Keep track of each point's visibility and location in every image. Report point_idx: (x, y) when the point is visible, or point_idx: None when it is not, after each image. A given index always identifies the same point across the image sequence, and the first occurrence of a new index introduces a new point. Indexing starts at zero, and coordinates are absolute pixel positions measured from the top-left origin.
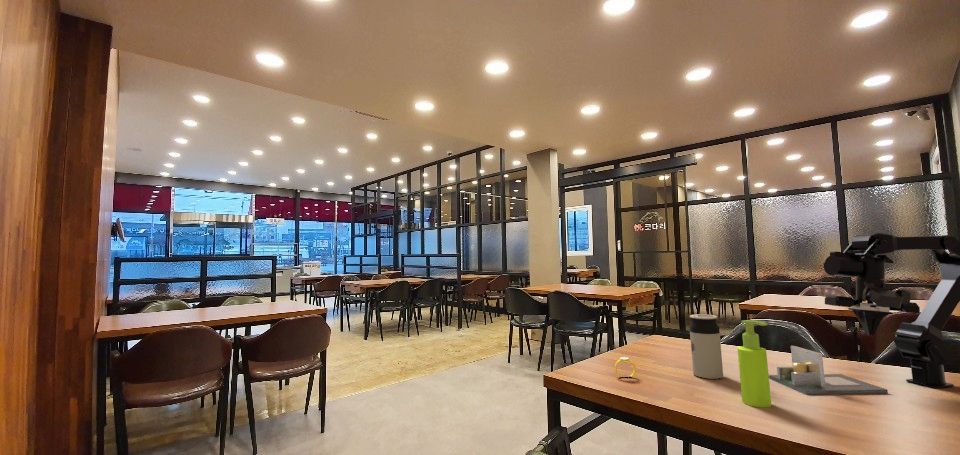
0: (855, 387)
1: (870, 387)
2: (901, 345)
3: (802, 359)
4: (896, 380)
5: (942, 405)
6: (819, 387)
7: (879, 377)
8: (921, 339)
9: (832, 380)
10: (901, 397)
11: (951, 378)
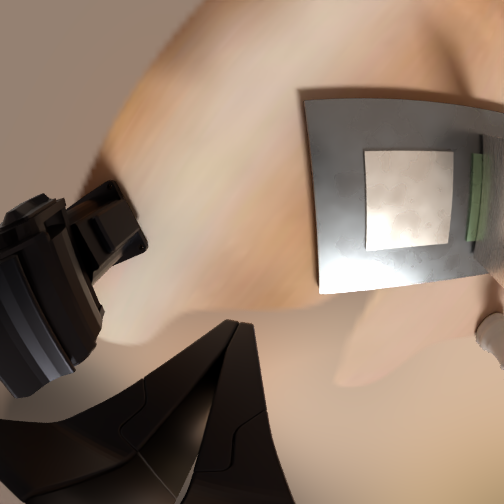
0: (398, 126)
1: (346, 125)
2: (86, 307)
3: None
4: (165, 262)
5: (221, 4)
6: None
7: (194, 292)
8: (10, 249)
9: (418, 205)
10: (287, 64)
11: None
